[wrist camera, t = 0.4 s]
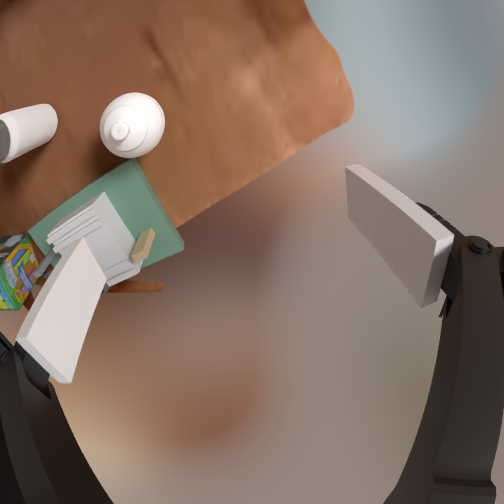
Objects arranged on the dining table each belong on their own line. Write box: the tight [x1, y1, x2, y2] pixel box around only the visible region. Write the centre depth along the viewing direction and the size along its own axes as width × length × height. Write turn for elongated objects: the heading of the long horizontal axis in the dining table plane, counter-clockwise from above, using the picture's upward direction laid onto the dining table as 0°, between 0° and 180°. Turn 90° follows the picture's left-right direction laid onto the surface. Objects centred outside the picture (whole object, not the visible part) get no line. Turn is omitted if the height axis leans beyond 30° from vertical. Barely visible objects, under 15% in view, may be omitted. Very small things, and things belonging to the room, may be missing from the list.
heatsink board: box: [28, 157, 184, 287], centre depth 37 cm, size 16×24×9 cm, turn 111°
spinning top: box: [100, 93, 165, 158], centre depth 28 cm, size 8×8×12 cm
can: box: [0, 104, 58, 163], centre depth 24 cm, size 6×6×12 cm
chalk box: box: [0, 234, 39, 311], centre depth 34 cm, size 9×9×15 cm
